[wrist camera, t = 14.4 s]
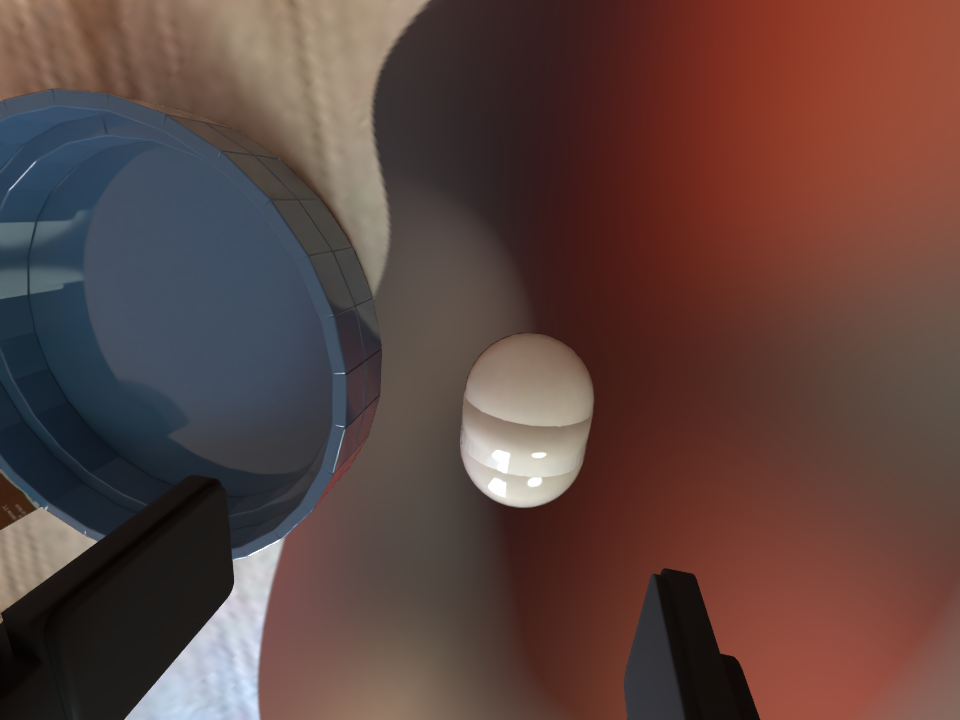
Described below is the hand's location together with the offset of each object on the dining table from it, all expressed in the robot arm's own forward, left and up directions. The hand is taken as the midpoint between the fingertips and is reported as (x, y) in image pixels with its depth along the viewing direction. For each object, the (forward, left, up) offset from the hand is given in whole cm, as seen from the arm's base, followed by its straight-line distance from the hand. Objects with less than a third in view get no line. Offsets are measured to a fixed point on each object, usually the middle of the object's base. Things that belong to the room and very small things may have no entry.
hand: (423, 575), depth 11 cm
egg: (+1, 0, -12) cm, 12 cm away
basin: (0, -16, -12) cm, 20 cm away
